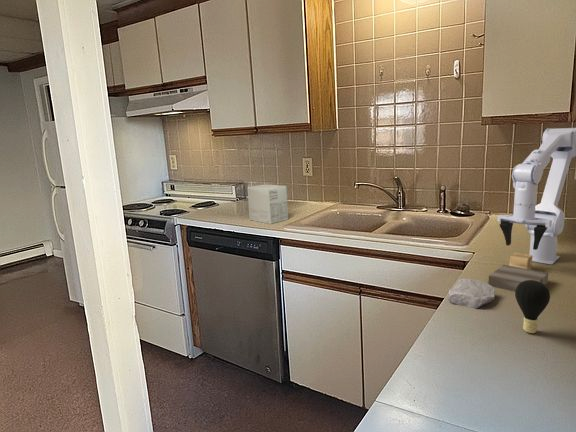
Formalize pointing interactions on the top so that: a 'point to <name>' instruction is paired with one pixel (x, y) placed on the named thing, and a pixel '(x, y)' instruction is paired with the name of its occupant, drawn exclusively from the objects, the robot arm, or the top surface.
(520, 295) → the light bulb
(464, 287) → the stone block
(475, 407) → the top surface
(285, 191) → the supplement box
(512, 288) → the base block
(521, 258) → the maple cube
